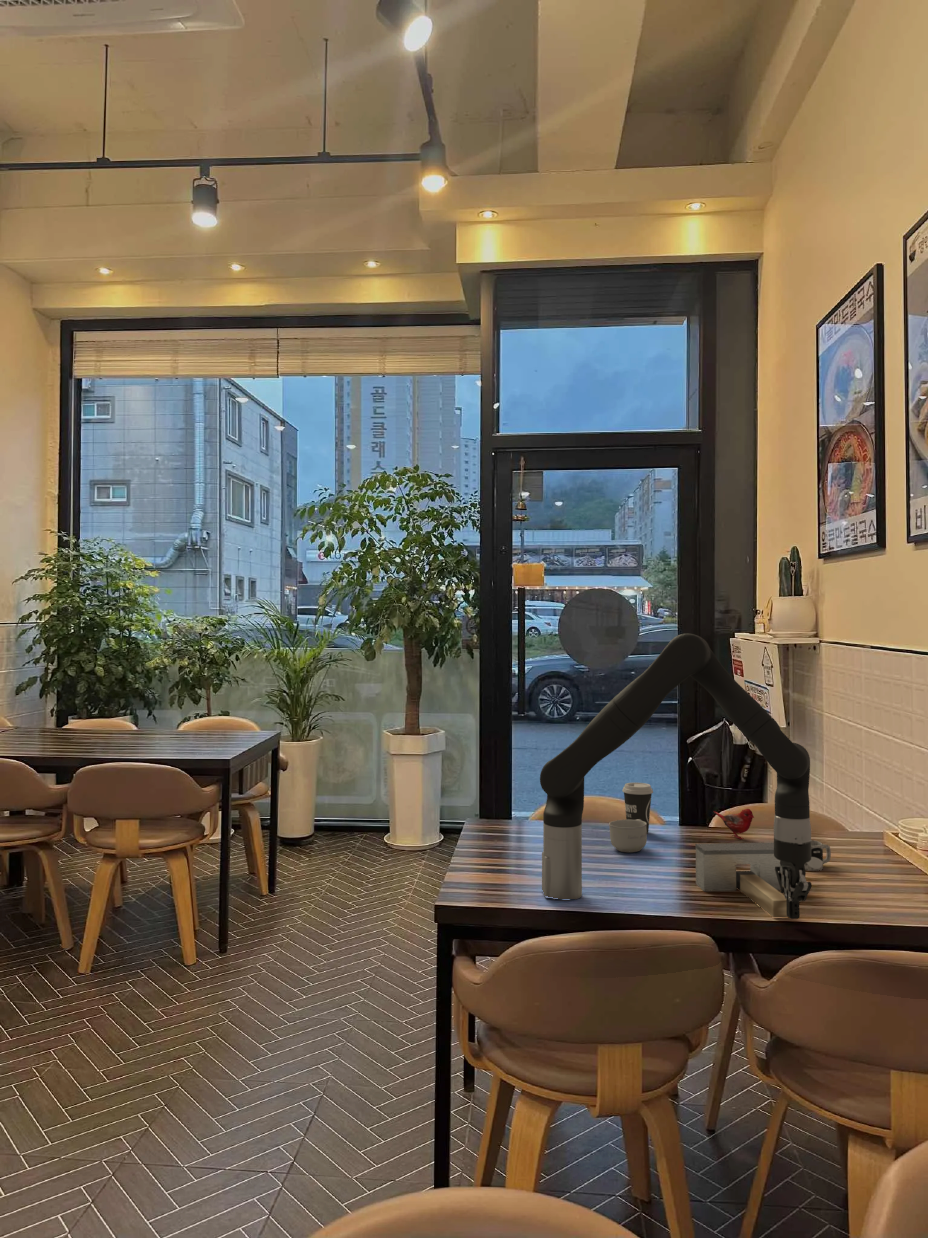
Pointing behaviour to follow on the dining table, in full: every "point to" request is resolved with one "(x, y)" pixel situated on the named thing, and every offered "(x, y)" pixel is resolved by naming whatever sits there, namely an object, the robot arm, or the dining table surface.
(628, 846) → the teacup
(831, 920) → the dining table surface
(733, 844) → the block
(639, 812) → the coffee cup
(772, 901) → the bar
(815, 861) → the mug
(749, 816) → the decorative bird figurine
